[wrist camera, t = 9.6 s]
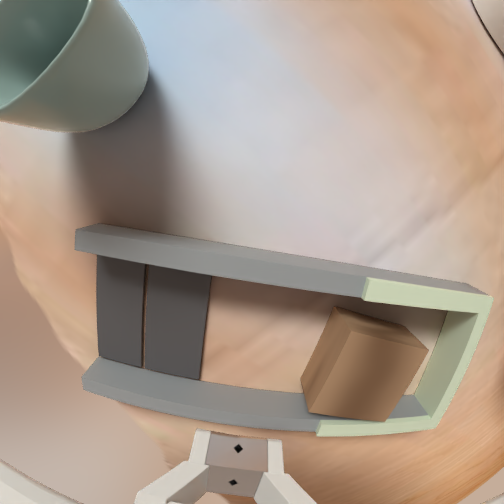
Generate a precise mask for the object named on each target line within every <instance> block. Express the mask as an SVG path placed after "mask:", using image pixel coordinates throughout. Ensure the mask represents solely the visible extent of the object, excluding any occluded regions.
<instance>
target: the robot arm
mask: <svg viewBox="0 0 504 504" xmlns="http://www.w3.org/2000/svg"><path fill="white" fill-rule="evenodd" d="M472 1H473V3H474V5H475V8H476V10H477V12H478V14H479V16H480V17H481V19H482V21H483V23H484V25H485V26H486V28H487V30H488V31H489V33H490V34H491V36H492V37H493V39H494V41H495V42H496V44H497V45H498V46H499V48H500V49H501V51H502V52H503V53H504V0H472ZM206 492H213V493H221V494H230V495H237V496H245V497H254V500H255V501H256V503H257V504H317V503H316V502H315V501H314V500H313V499H312V498H311V497H310V496H309V495H308V494H307V493H306V492H305V491H304V490H303V489H302V488H301V487H300V485H299V484H298V483H297V482H296V481H295V480H294V479H293V478H292V477H291V476H290V475H289V474H285V473H284V461H283V448H282V441H281V440H279V439H266V438H258V437H248V436H240V435H239V436H237V435H231V434H225V433H220V432H214V431H208V430H203V429H199V428H197V429H196V432H195V436H194V440H193V444H192V448H191V452H190V457H189V461H183V462H182V463H180V464H179V465H177V466H176V467H175V468H173V469H172V470H170V471H169V472H167V473H166V474H164V475H163V476H161V477H160V478H158V479H157V480H155V481H154V482H152V483H151V484H149V485H148V486H147V487H145V488H143V489H142V490H140V491H138V493H137V496H136V499H135V502H134V504H194V503H195V502H196V501H197V500H199V499H200V498H201V497H202V496H203V495H204V494H205V493H206ZM0 504H83V503H80V502H78V501H76V500H74V499H71V498H69V497H67V496H65V495H63V494H61V493H59V492H57V491H55V490H53V489H51V488H49V487H47V486H45V485H43V484H41V483H39V482H38V481H36V480H34V479H32V478H31V477H29V476H27V475H25V474H24V473H22V472H20V471H19V470H17V469H15V468H14V467H12V466H11V465H9V464H8V463H6V462H5V461H3V460H2V459H0ZM481 504H504V493H502V494H500V495H499V496H497V497H494V498H492V499H490V500H488V501H486V502H484V503H481Z"/></svg>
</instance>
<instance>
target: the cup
mask: <svg viewBox="0 0 504 504" xmlns="http://www.w3.org/2000/svg"><path fill="white" fill-rule="evenodd" d="M148 76H149V60H148V55H147V50H146V46H145V44H144V42H143V39H142V37H141V35H140V32H139V31H138V29H137V27H136V25H135V23H134V22H133V20H132V18H131V17H130V15H129V14H128V13H127V11H126V10H125V8H124V7H123V6H122V4H121V3H120V2H119V0H1V1H0V121H1V122H5V123H10V124H15V125H20V126H25V127H30V128H35V129H40V130H46V131H53V132H63V133H81V132H88V131H92V130H96V129H99V128H102V127H104V126H106V125H109V124H111V123H112V122H114V121H115V120H117V119H119V118H120V117H121V116H122V115H124V114H125V113H126V112H127V111H128V110H129V109H130V108H131V107H132V106H133V105H134V104H135V103H136V101H137V100H138V99H139V97H140V96H141V94H142V92H143V90H144V88H145V86H146V84H147V80H148Z"/></svg>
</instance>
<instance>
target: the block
mask: <svg viewBox="0 0 504 504" xmlns="http://www.w3.org/2000/svg"><path fill="white" fill-rule="evenodd" d="M428 351H429V350H428V349H427V348H426V347H425V346H424V345H423V344H422V343H421V342H420V341H419V340H418V339H417V338H416V337H415V336H414V335H413V334H412V333H411V332H410V331H409V330H408V329H407V328H406V327H405V326H402V325H398V324H395V323H391V322H387V321H384V320H380V319H377V318H373V317H370V316H366V315H363V314H360V313H356V312H353V311H349V310H346V309H342V308H339V307H336V306H334V308H333V310H332V312H331V315H330V317H329V319H328V321H327V324H326V326H325V328H324V330H323V333H322V335H321V337H320V339H319V341H318V343H317V346H316V348H315V350H314V352H313V354H312V356H311V358H310V360H309V362H308V364H307V366H306V369H305V371H304V373H303V375H302V377H301V383H302V387H303V391H304V395H305V399H306V403H307V407H308V411H309V412H311V413H317V414H324V415H330V416H337V417H344V418H352V419H361V420H371V421H381V422H385V421H386V420H387V418H388V417H389V415H390V414H391V412H392V411H393V409H394V408H395V406H396V405H397V403H398V402H399V400H400V399H401V397H402V396H403V394H404V392H405V391H406V389H407V388H408V386H409V384H410V383H411V381H412V379H413V378H414V376H415V374H416V372H417V371H418V369H419V367H420V365H421V364H422V362H423V360H424V358H425V356H426V355H427V353H428Z"/></svg>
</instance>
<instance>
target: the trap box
mask: <svg viewBox="0 0 504 504" xmlns="http://www.w3.org/2000/svg"><path fill="white" fill-rule="evenodd" d="M75 250H77V251H82V252H87V253H92V254H97V286H96V298H97V334H98V350H99V356H101V357H98V358H97V359H96V360H95V361H94V363H93V364H92V365H91V366H90V367H89V369H88V370H87V371H86V372H85V374H84V375H83V376H82V383H83V389H84V390H86V391H89V392H92V393H94V394H97V395H101V396H104V397H107V398H110V399H113V400H117V401H120V402H124V403H127V404H131V405H134V406H138V407H142V408H146V409H150V410H154V411H158V412H162V413H167V414H171V415H176V416H181V417H186V418H191V419H197V420H202V421H208V422H214V423H221V424H228V425H235V426H243V427H252V428H262V429H274V430H288V431H310V432H316V436H367V435H383V434H394V433H404V432H413V431H421V430H428V429H435V428H436V427H437V425H438V423H439V422H440V420H441V418H442V416H443V415H444V413H445V411H446V409H447V408H448V406H449V404H450V402H451V400H452V398H453V396H454V394H455V393H456V391H457V389H458V387H459V385H460V383H461V381H462V378H463V376H464V374H465V372H466V370H467V368H468V366H469V363H470V361H471V359H472V356H473V354H474V352H475V349H476V347H477V345H478V342H479V339H480V337H481V334H482V332H483V329H484V326H485V324H486V321H487V318H488V315H489V312H490V309H491V306H492V303H493V300H494V298H493V297H492V296H490V295H488V294H486V293H484V292H482V291H480V290H478V289H476V288H474V287H472V286H471V285H469V284H466V283H460V282H454V281H448V280H443V279H437V278H431V277H425V276H419V275H413V274H407V273H401V272H395V271H389V270H383V269H377V268H371V267H365V266H359V265H353V264H347V263H341V262H335V261H329V260H323V259H317V258H311V257H305V256H299V255H293V254H287V253H280V252H274V251H268V250H262V249H256V248H250V247H244V246H237V245H231V244H225V243H219V242H213V241H207V240H200V239H194V238H188V237H182V236H175V235H169V234H163V233H157V232H150V231H144V230H138V229H131V228H125V227H119V226H113V225H106V224H100V223H98V224H94V225H90V226H87V227H83V228H79V229H76V231H75ZM146 264H149V274H148V288H147V306H146V332H145V368H146V369H142V368H138V367H142V343H143V308H144V289H145V274H146ZM212 275H213V276H219V277H225V278H231V279H237V280H244V281H250V282H256V283H263V284H269V285H276V286H282V287H289V288H296V289H303V290H309V291H316V292H324V293H331V294H338V295H345V296H353V297H360V298H362V299H363V300H364V301H370V302H379V303H387V304H395V305H404V306H413V307H421V308H431V309H440V310H448V312H447V315H446V318H445V321H444V324H443V327H442V330H441V332H440V335H439V338H438V340H437V343H436V345H435V348H434V351H433V353H432V355H431V358H430V360H429V363H428V365H427V367H426V370H425V372H424V374H423V376H422V379H421V381H420V383H419V385H418V387H417V389H416V392H415V394H414V395H403V396H402V397H401V399H400V400H399V402H398V403H397V405H396V406H395V408H394V409H393V411H392V412H391V414H390V415H389V417H388V418H387V420H386V421H385V422H381V421H371V420H361V419H352V418H344V417H337V416H330V415H324V414H317V413H311V412H309V411H308V407H307V403H306V399H305V395H304V394H301V393H289V392H278V391H268V390H259V389H251V388H243V387H236V386H229V385H223V384H216V383H210V382H204V381H199V375H200V366H201V357H202V348H203V340H204V331H205V323H206V315H207V307H208V299H209V291H210V284H211V276H212ZM102 357H104V358H102ZM105 358H108V359H111V360H108V359H105ZM112 360H115V361H112ZM116 361H119V362H122V363H119V362H116ZM123 363H126V364H123ZM127 364H130V365H134V366H138V367H134V366H130V365H127ZM147 369H150V370H147ZM151 370H154V371H151ZM155 371H159V372H163V373H159V372H155ZM164 373H168V374H164ZM169 374H172V375H169ZM173 375H177V376H173ZM178 376H182V377H178ZM183 377H187V378H183ZM188 378H193V379H198V380H193V379H188Z"/></svg>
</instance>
